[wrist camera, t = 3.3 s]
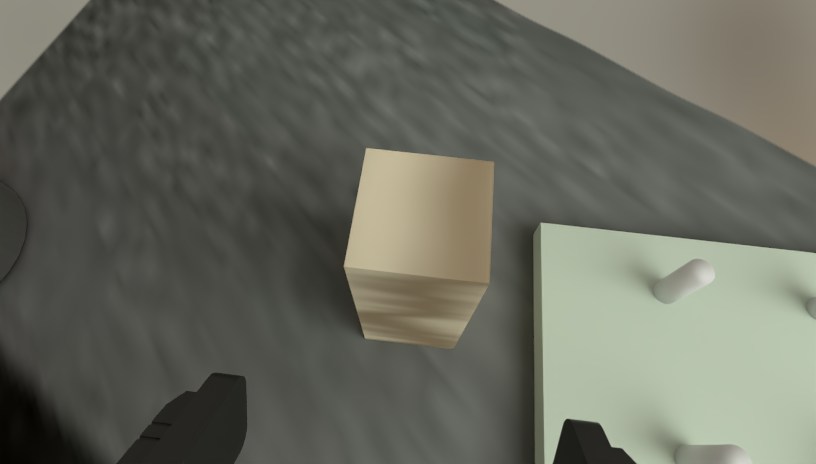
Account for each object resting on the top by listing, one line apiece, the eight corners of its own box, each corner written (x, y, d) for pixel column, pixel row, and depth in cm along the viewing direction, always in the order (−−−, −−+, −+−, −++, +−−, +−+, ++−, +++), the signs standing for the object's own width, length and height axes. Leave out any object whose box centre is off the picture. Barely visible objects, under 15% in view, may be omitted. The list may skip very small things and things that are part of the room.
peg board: (535, 523, 19) (571, 543, 15) (533, 234, 26) (558, 194, 21) (1011, 586, 19) (1180, 624, 15) (893, 274, 25) (989, 241, 21)
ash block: (365, 338, 23) (343, 266, 14) (377, 257, 25) (366, 148, 16) (453, 349, 23) (489, 283, 14) (458, 266, 25) (493, 161, 16)
